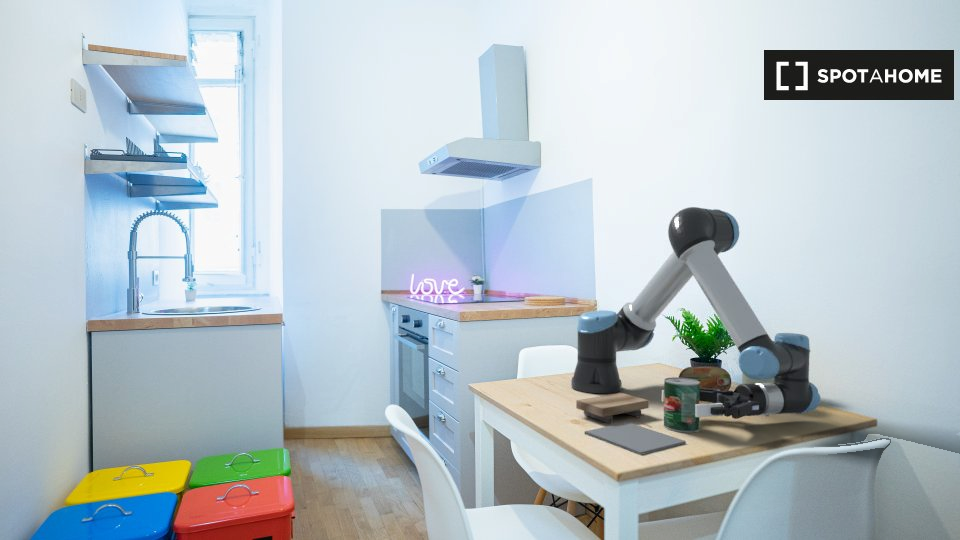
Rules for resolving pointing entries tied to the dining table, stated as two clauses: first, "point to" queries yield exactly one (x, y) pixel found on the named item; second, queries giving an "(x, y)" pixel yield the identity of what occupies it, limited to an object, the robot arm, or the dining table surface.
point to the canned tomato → (681, 404)
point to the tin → (708, 377)
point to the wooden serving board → (612, 406)
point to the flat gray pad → (635, 438)
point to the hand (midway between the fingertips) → (678, 403)
